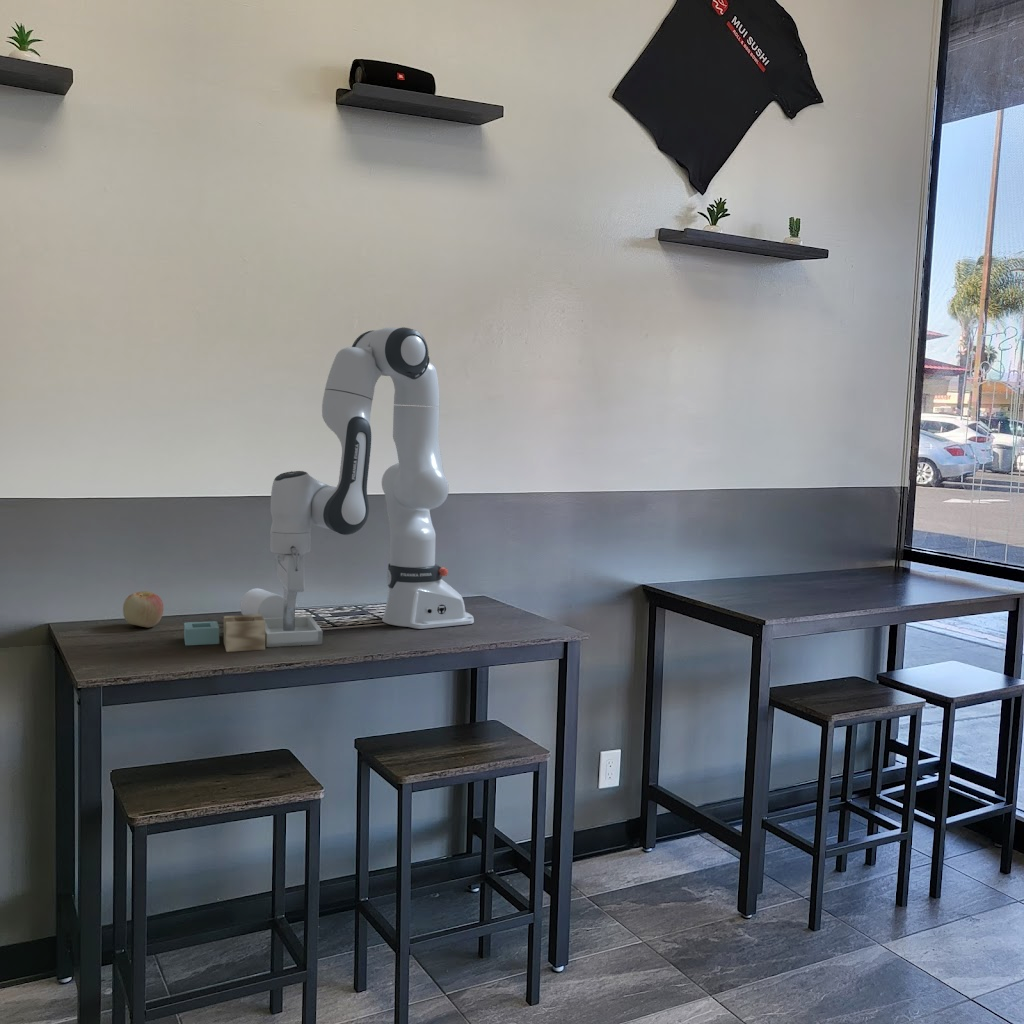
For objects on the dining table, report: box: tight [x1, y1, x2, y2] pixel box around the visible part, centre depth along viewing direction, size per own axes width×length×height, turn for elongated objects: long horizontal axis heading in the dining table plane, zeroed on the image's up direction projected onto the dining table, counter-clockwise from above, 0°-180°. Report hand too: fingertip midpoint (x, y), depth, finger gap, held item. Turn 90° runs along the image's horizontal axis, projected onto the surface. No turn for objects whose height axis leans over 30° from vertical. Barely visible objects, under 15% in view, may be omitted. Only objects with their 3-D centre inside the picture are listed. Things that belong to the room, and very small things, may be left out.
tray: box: [263, 615, 323, 648], centre depth 224 cm, size 12×16×3 cm
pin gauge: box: [283, 587, 296, 631], centre depth 223 cm, size 3×3×12 cm
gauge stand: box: [183, 620, 220, 646], centre depth 219 cm, size 7×7×4 cm
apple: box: [122, 590, 165, 628], centre depth 230 cm, size 9×9×8 cm
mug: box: [239, 587, 299, 618], centre depth 238 cm, size 12×10×8 cm
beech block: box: [223, 614, 266, 653], centre depth 215 cm, size 8×8×6 cm
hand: (289, 605), depth 224 cm, fingers closed on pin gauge, 3 cm apart
